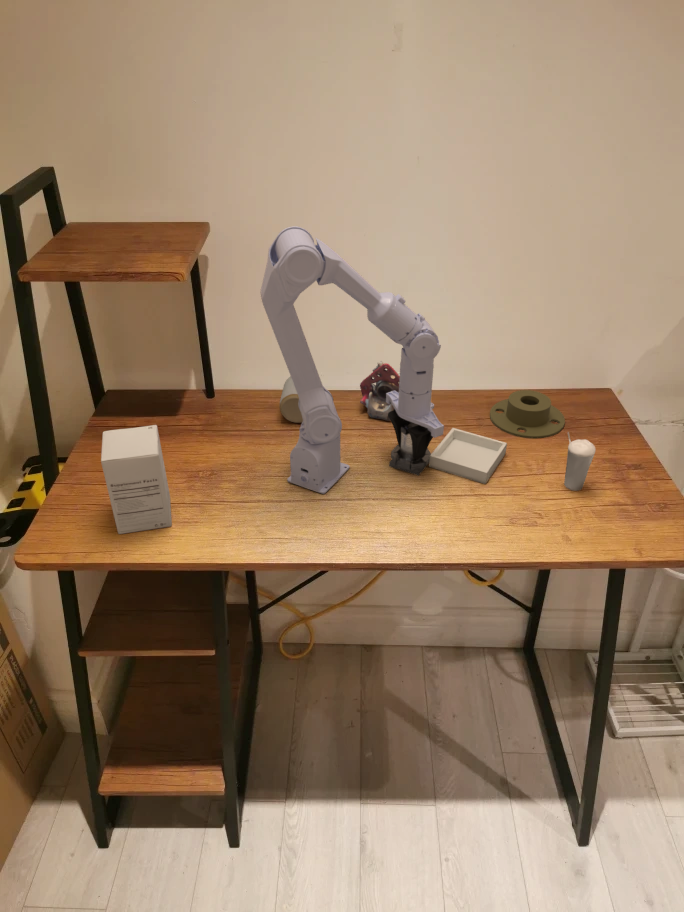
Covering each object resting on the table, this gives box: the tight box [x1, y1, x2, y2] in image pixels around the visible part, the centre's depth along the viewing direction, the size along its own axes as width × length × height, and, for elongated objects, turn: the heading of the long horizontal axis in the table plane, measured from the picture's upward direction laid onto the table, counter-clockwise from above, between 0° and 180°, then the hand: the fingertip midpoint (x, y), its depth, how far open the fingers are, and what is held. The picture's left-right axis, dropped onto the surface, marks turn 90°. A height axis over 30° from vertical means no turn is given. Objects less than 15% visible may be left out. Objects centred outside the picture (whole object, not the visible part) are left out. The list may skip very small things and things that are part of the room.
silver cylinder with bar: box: [400, 422, 422, 461], centre depth 132 cm, size 4×4×7 cm
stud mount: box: [388, 444, 432, 476], centre depth 134 cm, size 7×7×2 cm
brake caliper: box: [359, 360, 400, 422], centre depth 149 cm, size 11×11×12 cm
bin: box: [428, 427, 508, 485], centre depth 135 cm, size 11×11×2 cm
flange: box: [489, 389, 566, 439], centre depth 147 cm, size 5×15×15 cm
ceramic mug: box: [279, 375, 303, 424], centre depth 147 cm, size 11×8×8 cm
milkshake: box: [563, 431, 596, 492], centre depth 126 cm, size 5×5×10 cm
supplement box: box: [100, 424, 173, 535], centre depth 118 cm, size 9×9×15 cm
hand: (411, 451), depth 133 cm, fingers closed on silver cylinder with bar, 4 cm apart
